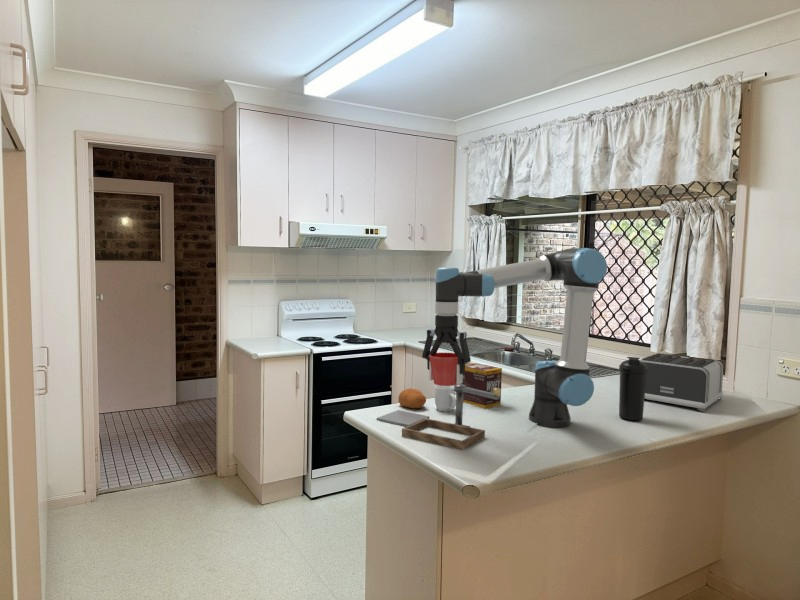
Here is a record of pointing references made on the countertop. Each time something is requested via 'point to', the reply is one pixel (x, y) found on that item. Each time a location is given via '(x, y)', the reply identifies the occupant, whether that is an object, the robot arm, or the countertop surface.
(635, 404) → the water bottle
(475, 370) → the supplement box
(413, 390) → the potato
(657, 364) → the toaster
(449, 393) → the mug
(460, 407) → the post
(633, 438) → the countertop surface
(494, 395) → the bar
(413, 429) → the wooden tray
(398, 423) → the plate
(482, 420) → the countertop surface
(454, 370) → the flower pot
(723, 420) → the countertop surface
